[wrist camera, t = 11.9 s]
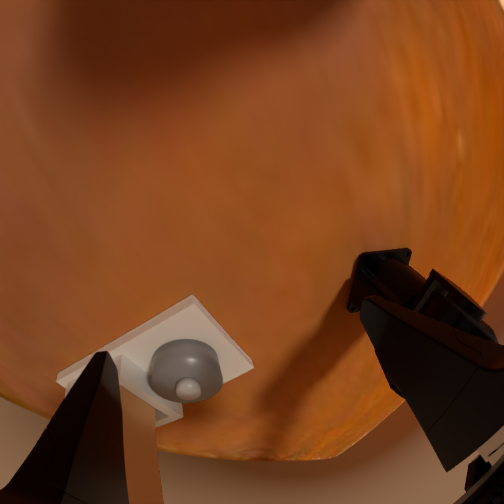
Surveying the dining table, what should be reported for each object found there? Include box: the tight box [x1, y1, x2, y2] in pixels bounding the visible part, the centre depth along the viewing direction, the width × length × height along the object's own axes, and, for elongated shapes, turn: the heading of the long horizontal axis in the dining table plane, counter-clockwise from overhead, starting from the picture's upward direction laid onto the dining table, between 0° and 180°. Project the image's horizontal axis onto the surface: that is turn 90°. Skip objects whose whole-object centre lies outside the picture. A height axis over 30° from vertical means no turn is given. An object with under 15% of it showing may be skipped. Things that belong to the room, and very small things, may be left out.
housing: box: [56, 294, 254, 427], centre depth 23 cm, size 18×10×5 cm, turn 119°
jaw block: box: [119, 385, 164, 504], centre depth 18 cm, size 4×4×14 cm
